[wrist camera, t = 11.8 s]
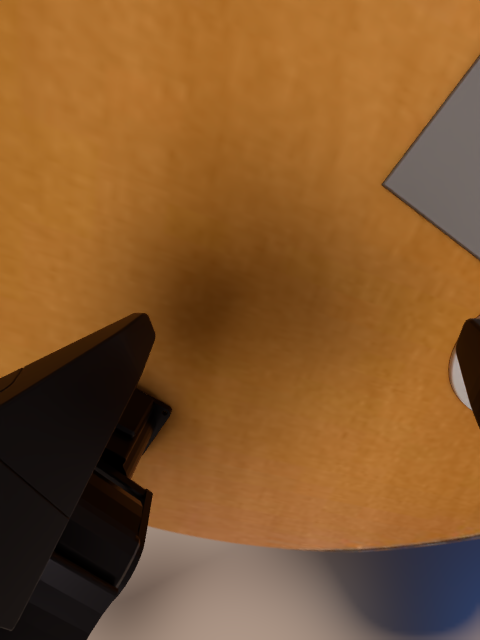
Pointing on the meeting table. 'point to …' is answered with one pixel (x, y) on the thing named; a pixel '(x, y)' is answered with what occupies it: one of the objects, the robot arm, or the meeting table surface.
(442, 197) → the mat
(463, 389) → the saucer
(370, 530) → the meeting table surface
